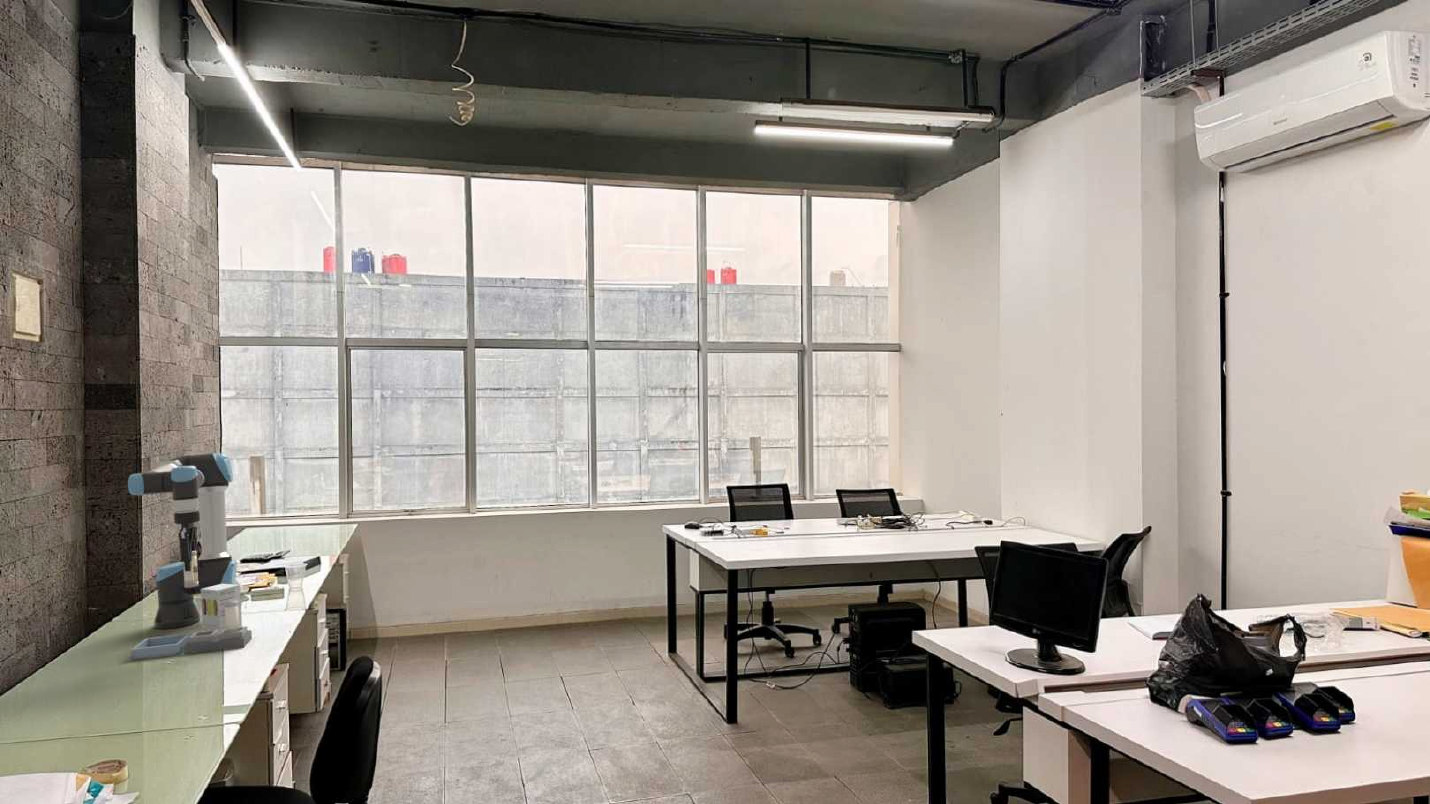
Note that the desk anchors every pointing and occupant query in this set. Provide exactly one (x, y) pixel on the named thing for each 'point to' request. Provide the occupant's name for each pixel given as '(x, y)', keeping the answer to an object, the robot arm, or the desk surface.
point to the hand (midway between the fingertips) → (191, 578)
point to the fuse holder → (221, 634)
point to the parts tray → (160, 646)
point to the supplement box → (218, 605)
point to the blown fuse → (195, 570)
